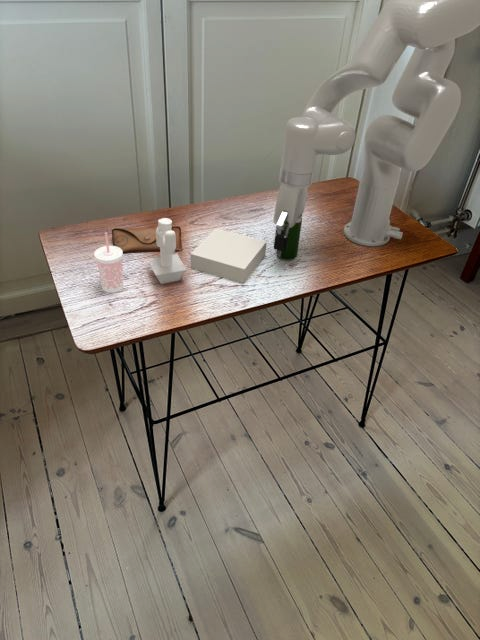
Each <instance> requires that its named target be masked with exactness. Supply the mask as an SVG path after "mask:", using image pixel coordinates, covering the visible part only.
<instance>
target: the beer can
mask: <svg viewBox="0 0 480 640" xmlns="http://www.w3.org/2000/svg"><path fill="white" fill-rule="evenodd" d="M302 223H303V214H301V216H300V217H299V218H298V220H297V222H296V224H295V225H294V226H293V227H291V228H290V230H289V233H288V236H287V237H289V238H288V245H287V251H286V252H283V251H279V250H276V257H277V259H278V260H280V261H282V262H286V263H287V262H293V261H295V260H296V258H297V257H298V254H299V253H298V251H299V244H300V238H301V231H302V226H303V225H302ZM284 224H289V223H288V222H285V223H284ZM283 230H284V231H286V227H283Z"/></svg>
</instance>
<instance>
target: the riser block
mask: <svg viewBox="0 0 480 640" xmlns="http://www.w3.org/2000/svg"><path fill="white" fill-rule="evenodd" d="M266 251H267V241H265V240H262V239H259V238H255V237H251V236H246V235H243V234H240V233H235V232H231V231H228V230H225V229H220V228H217V227H216V228H214V230H213V231H211V233H210V234H208V235H207V236H206V237H205V238H204V239H203V241H201V243H200V244H198V246H196V248H195V249H193V251H192V252H190V257H189V258H190V269H193V270H197V271H201V272H203V273H207V274H210V275H213V276H216V277H221V278H224V279H227V280H230V281H234V282H237V283H241V284H245V282H246V281H247V280H248V278H249V277H250V276H251V274H253V272H254V271H255V270H256V268H257V267H258V265H259V264H260V263H261V261H262V260H263V259H264V258H265V256H266Z"/></svg>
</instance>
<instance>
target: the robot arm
mask: <svg viewBox="0 0 480 640" xmlns="http://www.w3.org/2000/svg"><path fill="white" fill-rule="evenodd" d="M479 26H480V0H387V1H386V3H384V5H383V7H382V9H381V10H380V11H379V14H378V16H377V17H376V19H375V20H374V22H373V24H372V25H371V27H370V29H369V30H368V32H367V34H366V36H365V37H364V39H363V41H362V42H361V44H360V45H359V47H358V49H357V51H356V52H355V54H354V55H353V57H352V59H351V60H350V61H349V62H348V63H347V64H346V65H344V66H343V67H340V68H339V69H338V70H336V71H335V72H333V74H331V75H330V76H329V77H327V78H326V79H325V80H324V81H323V82H321V84H320V85H319V86H318V87H317V88H316V90H315V91H314V93H312V96H311V97H310V98H309V101H308V102H307V104H306V106H305V107H304V109H303V112H302V114H301V116H296V117H292V118H290V119H288V121H287V123H286V125H285V130H284V138H283V147H282V154H281V161H280V168H279V169H280V171H279V178H278V181H279V183H280V186H279V189H278V193H277V198H276V203H275V210H274V215H273V220H272V221H273V225H276V226H275V233H274V235H275V236H274V242H273V249H274V250H279V251H283V252H286V251H287V245H288V238H289V237H287V236H288V233H289V230H290V228H291V227H293V226H294V225H295V224H296V222H297V220H298V218H299V217H300V216H301V214H302V215H304V211H305V207H306V202H307V196H308V188H309V187H311V186H312V183H313V178H314V174H315V173H314V171H315V166H316V160H317V155H323V156H325V155H328V156H338V155H342V154H344V153H347V152H348V151H350V150H351V149H352V147H353V146H354V144H355V142H356V137H357V135H356V134H357V133H356V131H355V129H354V126H353V125H352V124H351V123H350V122H349V121H347V120H346V119H343V118H341V117H339V116H338V115H335V114H334V113H333V111H334V110H335V108H336V107H337V106H338V105H339V104H340V102H341V101H343V100H344V99H345V98H346V97H347V96H349V95H351V94H353V93H355V92H358V91H363V90H366V89H371V88H375V87H379V86H381V85H383V84H384V83H385V82H386V81H387V79H388V77H389V76H390V75H391V72H392V70H393V69H394V68H395V66H396V65H397V63H398V61H399V59H400V58H401V57H402V55H403V54H404V52H405V50H406V49H407V47H408V46H409V47H412V48H414V49H413V51H412V54H411V56H410V57H409V60H408V62H407V64H406V66H405V68H404V70H403V72H402V73H401V76H400V78H399V80H398V81H397V84H395V87H394V90H393V93H392V97H391V101H392V104H393V106H394V107H395V109H397V110H398V111H400V112H401V113H404V114H405V115H407V116H410V117H412V118H413V119H417V121H416V123H415V124H413V123H412V122H409V121H407V120H405V119H402V118H400V117H398V116H396V115H391V114H382V115H378V116H377V117H376V118H375V117H374V119H373V120H372V121H371V122H370V123H369V125H368V127H367V128H366V132H365V135H364V156H363V164H362V171H361V175H360V180H359V184H358V189H357V193H356V194H357V195H356V198H355V203H354V209H353V212H352V217H351V220H350V221H349V222H348V223H346V224H345V225H344V227H343V234H344V237H346V238H347V239H348V240H350V242H353V243H354V244H355V243H356V244H357V245H361V246H366V247H380V246H383V245H385V244H387V243H388V242H389V241H390V239H391V238H393V239H397V240H402V237H403V233H404V232H403V231H401V230H400V228H399V227H395V226H392V225H390V224H391V220H390V215H391V212H392V209H393V205H394V201H395V197H396V194H397V188H398V186H399V183H400V179H401V178H400V177H401V169H402V170H405V171H407V172H412V173H413V172H417V171H421V170H422V169H423V168H424V167H426V166H427V164H428V163H429V162H430V160H431V159H432V158H433V156H434V155H435V153H436V151H437V149H438V147H439V146H440V144H441V143H442V141H443V139H444V137H445V135H446V134H447V132H448V130H449V129H450V127H451V125H452V123H453V121H454V120H455V117H456V116H457V113H458V112H459V109H460V106H461V99H462V92H461V89H460V88H459V85H458V84H457V83H455V82H454V81H452V80H450V79H447V78H445V77H444V75H445V73H446V72H447V69H448V67H449V65H450V63H451V61H452V58H453V56H454V54H455V49H456V39H458V38H460V37H462V36H465V35H466V34H468V33H470V32H472V31H474V30H476V29H477V28H478V27H479ZM285 222H288V223H289V224H284V223H285ZM283 227H286V231H284V230H283Z"/></svg>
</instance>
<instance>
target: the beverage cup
mask: <svg viewBox="0 0 480 640" xmlns="http://www.w3.org/2000/svg"><path fill="white" fill-rule="evenodd" d="M104 238H105V245H103V246H101V247H98V248H97V249H95V251H93V255H94V260H95V261H96V265H97V269H98V272H99V278H100V282H101V288H102V290H103V291H104V292H106V293H110V294H111V293H117V292H121V290H123V288H124V272H123V258H124V254H123V251H122V249H121V248H119V247H117V246H113V245H109V240H108V239H109V238H108V232H107V231H104Z"/></svg>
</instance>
